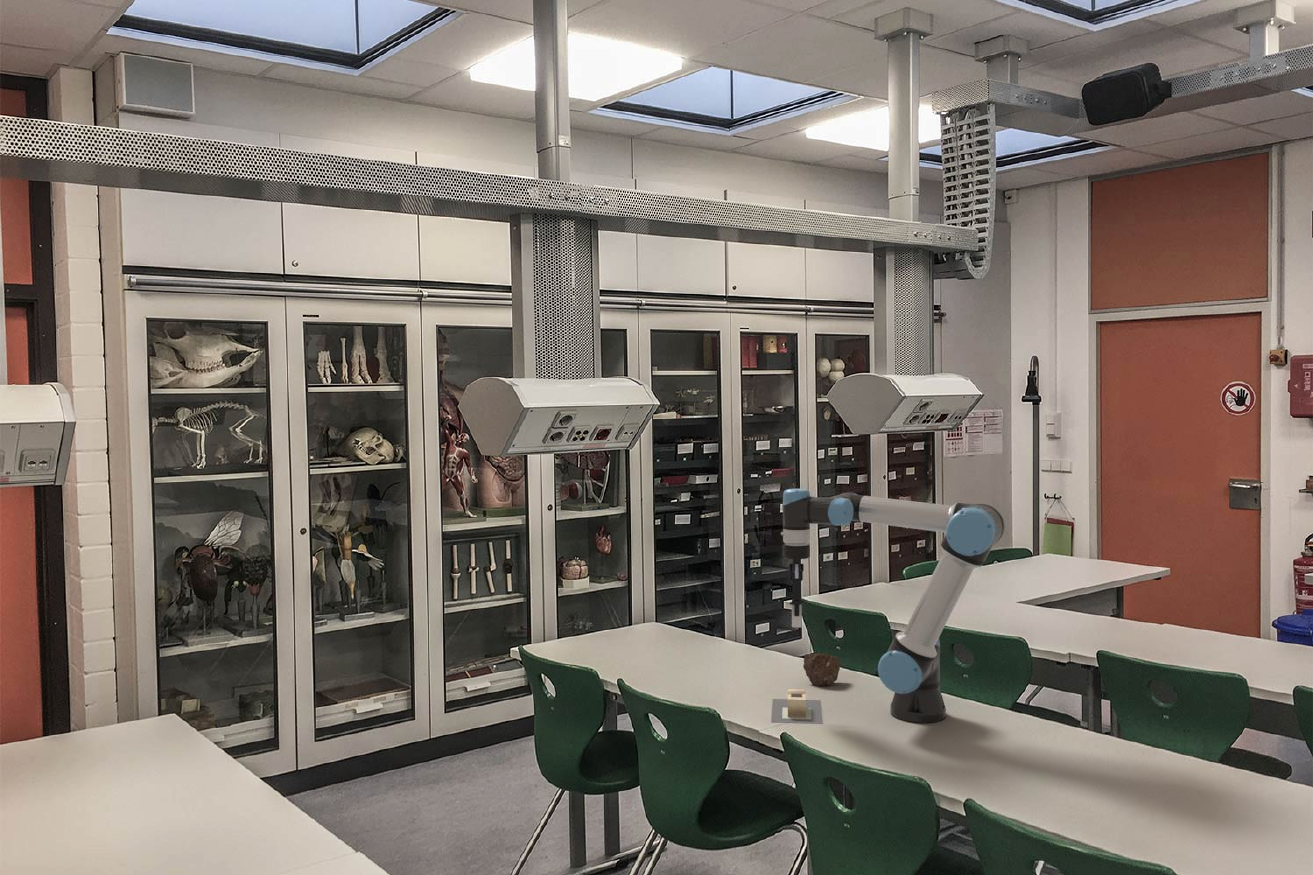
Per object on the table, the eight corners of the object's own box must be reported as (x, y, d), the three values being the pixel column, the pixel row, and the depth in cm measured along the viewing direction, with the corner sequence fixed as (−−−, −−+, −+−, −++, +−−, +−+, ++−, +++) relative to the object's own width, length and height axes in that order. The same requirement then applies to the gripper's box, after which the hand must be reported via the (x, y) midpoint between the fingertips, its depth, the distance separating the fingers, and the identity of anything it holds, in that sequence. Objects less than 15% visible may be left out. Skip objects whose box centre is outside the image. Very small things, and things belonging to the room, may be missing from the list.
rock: (835, 663, 328) (850, 651, 320) (837, 694, 323) (851, 683, 315) (799, 656, 326) (813, 644, 318) (800, 687, 320) (814, 676, 312)
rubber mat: (772, 700, 306) (772, 698, 305) (820, 701, 304) (820, 699, 304) (771, 723, 284) (771, 721, 284) (822, 725, 282) (822, 723, 282)
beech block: (787, 688, 297) (787, 699, 287) (805, 689, 297) (805, 699, 287) (787, 706, 298) (787, 717, 288) (805, 706, 297) (805, 717, 287)
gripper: (783, 540, 299) (783, 621, 300) (782, 547, 286) (783, 631, 287) (809, 540, 298) (809, 621, 299) (810, 547, 285) (810, 632, 286)
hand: (796, 626), depth 293 cm, fingers closed
